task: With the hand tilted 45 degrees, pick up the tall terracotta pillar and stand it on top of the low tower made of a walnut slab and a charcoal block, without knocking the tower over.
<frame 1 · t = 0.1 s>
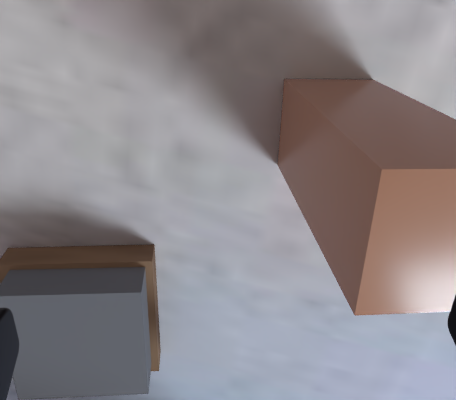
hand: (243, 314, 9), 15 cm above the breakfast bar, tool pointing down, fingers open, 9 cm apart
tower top: (85, 320, 25), point 2 cm above the breakfast bar, touching tower base
tower base: (91, 297, 27), on the breakfast bar, touching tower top
pillar: (323, 123, 23), on the breakfast bar
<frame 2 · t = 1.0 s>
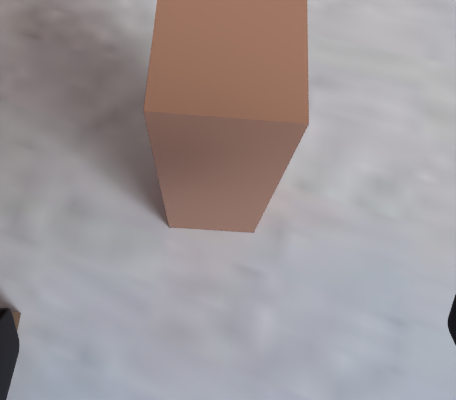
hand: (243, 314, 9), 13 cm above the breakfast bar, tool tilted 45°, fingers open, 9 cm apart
pillar: (214, 190, 24), on the breakfast bar
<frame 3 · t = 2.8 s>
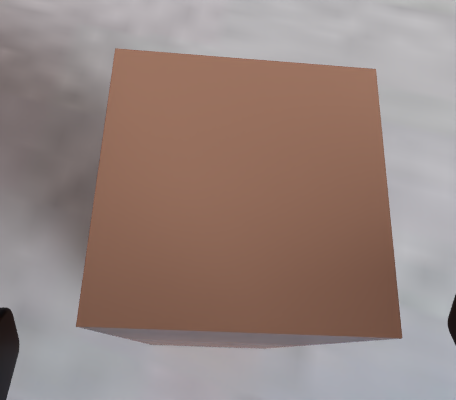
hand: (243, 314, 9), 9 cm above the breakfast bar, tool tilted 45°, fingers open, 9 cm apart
pillar: (210, 289, 18), on the breakfast bar
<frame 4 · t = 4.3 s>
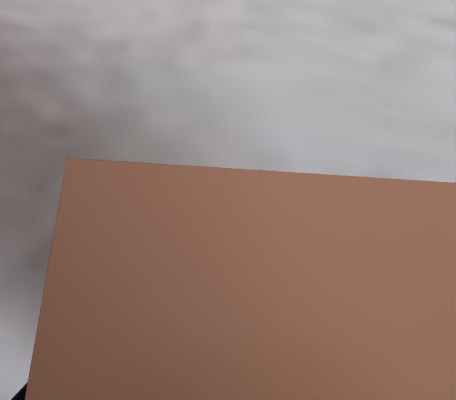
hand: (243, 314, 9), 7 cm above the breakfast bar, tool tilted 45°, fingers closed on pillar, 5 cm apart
pillar: (223, 374, 15), on the breakfast bar, touching gripper
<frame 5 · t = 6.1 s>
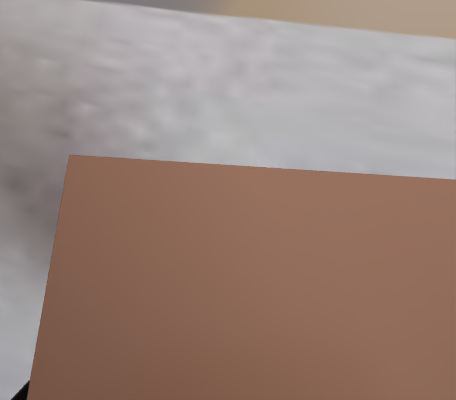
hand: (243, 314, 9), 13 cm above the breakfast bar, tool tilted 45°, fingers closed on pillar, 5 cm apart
pillar: (223, 373, 15), point 7 cm above the breakfast bar, touching gripper
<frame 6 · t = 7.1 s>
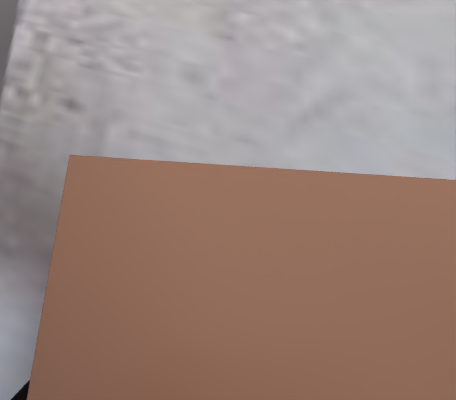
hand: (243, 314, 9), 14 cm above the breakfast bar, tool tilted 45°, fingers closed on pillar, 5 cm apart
pillar: (223, 374, 15), point 7 cm above the breakfast bar, touching gripper
when the fingers open (12 cm above the breakfast bar, at t = 8.2 s): pillar stays where it is, point 5 cm above the breakfast bar.
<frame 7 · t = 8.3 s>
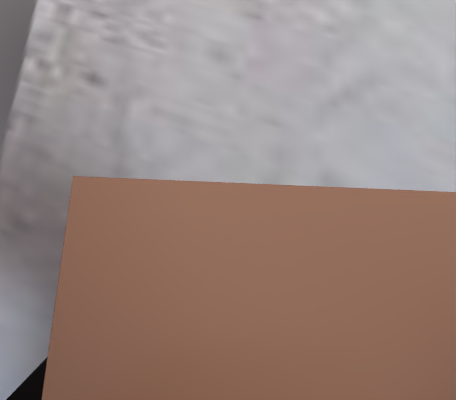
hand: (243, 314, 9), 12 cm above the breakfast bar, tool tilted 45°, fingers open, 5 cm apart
pillar: (222, 372, 15), point 5 cm above the breakfast bar
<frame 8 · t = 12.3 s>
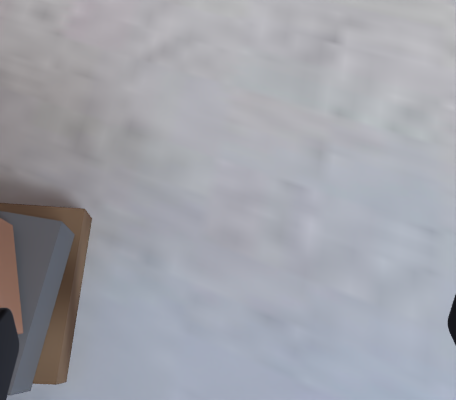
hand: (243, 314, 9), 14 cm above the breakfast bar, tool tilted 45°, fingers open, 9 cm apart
tower base: (1, 292, 22), on the breakfast bar, touching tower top
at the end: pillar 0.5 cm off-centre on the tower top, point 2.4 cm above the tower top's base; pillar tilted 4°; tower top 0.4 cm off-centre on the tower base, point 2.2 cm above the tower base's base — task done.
